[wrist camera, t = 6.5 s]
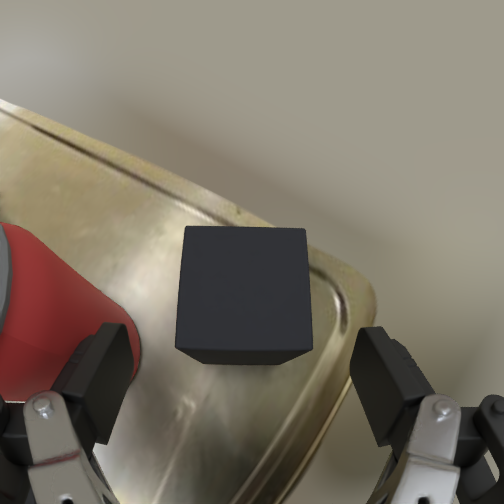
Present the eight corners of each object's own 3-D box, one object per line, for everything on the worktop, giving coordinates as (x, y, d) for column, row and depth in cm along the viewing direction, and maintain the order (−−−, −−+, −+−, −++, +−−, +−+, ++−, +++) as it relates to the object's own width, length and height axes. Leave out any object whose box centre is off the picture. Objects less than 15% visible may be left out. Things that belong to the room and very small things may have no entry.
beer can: (155, 390, 16) (28, 390, 5) (65, 405, 15) (-84, 395, 4) (132, 288, 18) (29, 170, 7) (50, 310, 17) (-77, 229, 6)
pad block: (279, 290, 19) (306, 227, 12) (281, 364, 17) (313, 350, 10) (204, 288, 19) (184, 224, 11) (201, 363, 17) (174, 348, 9)
